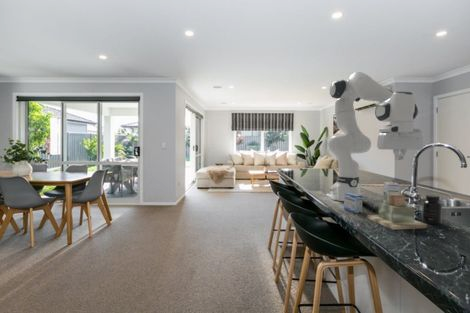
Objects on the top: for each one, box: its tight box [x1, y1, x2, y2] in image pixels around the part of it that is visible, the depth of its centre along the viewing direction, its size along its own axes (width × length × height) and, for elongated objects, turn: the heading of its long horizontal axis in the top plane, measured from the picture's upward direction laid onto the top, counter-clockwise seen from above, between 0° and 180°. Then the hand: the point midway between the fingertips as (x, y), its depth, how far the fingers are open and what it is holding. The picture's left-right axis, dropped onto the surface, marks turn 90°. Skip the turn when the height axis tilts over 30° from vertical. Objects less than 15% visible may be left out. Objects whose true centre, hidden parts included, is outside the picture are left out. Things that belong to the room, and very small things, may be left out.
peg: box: [388, 193, 406, 207], centre depth 118 cm, size 4×4×10 cm
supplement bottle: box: [422, 194, 443, 225], centre depth 120 cm, size 7×7×12 cm
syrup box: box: [382, 181, 400, 203], centre depth 139 cm, size 6×6×14 cm
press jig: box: [366, 202, 428, 231], centre depth 119 cm, size 16×16×8 cm
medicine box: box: [343, 193, 364, 214], centre depth 138 cm, size 8×4×9 cm, turn 23°
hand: (399, 159), depth 120 cm, fingers closed
